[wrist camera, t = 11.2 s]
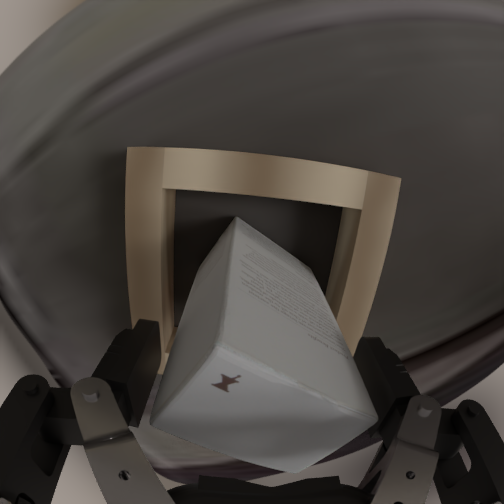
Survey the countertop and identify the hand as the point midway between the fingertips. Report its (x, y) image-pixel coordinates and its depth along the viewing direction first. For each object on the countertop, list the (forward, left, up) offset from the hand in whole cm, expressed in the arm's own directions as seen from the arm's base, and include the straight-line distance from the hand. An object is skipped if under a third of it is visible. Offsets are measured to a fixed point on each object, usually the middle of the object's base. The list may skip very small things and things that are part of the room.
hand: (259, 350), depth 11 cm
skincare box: (0, 0, -8) cm, 8 cm away
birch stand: (0, 0, -8) cm, 8 cm away
